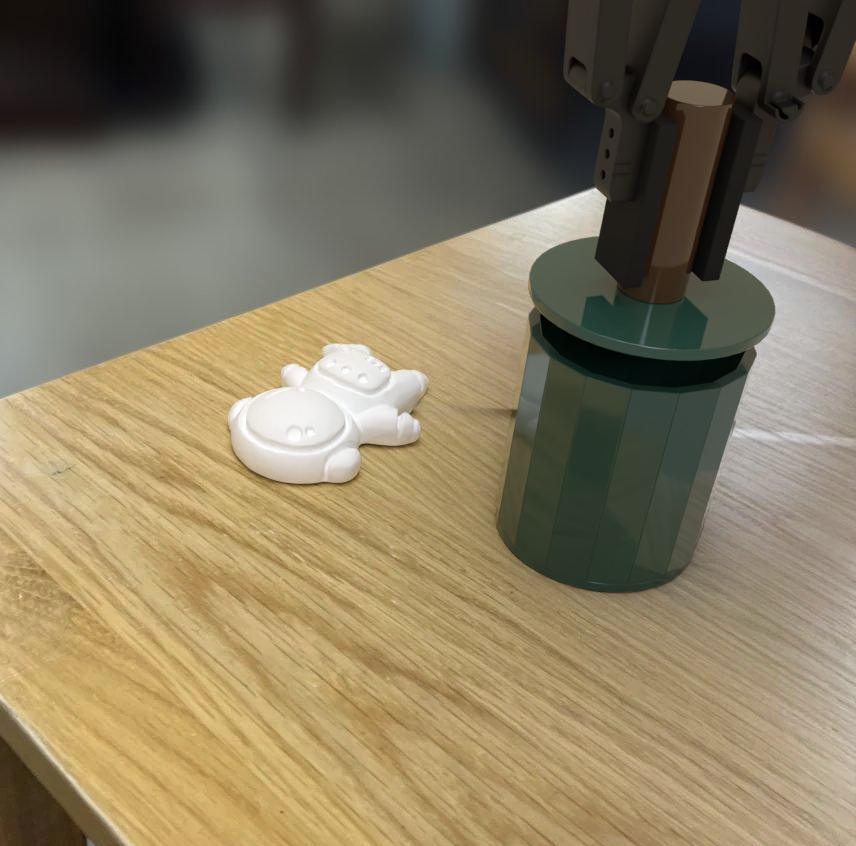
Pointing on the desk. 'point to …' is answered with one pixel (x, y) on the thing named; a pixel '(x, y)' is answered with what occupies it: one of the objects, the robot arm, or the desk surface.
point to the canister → (613, 458)
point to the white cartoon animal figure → (326, 417)
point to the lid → (664, 261)
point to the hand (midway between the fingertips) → (656, 268)
